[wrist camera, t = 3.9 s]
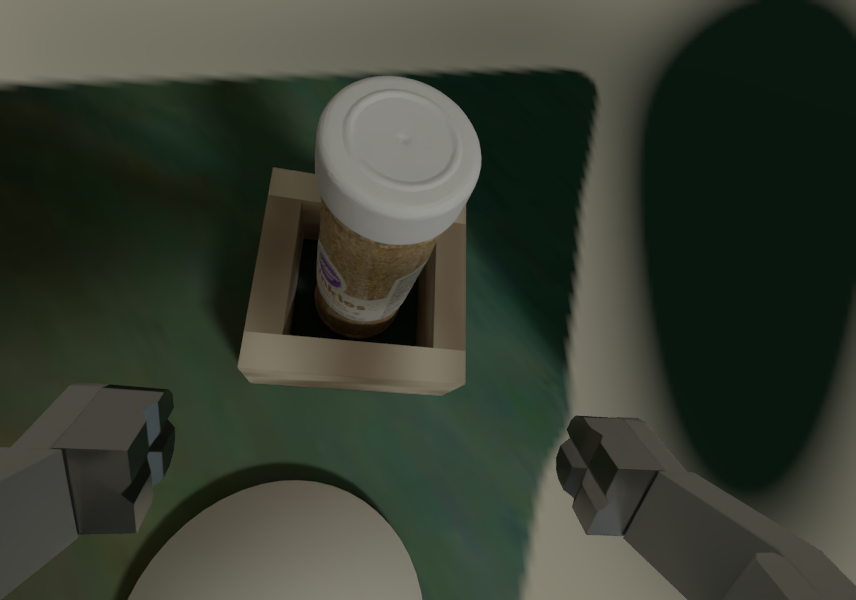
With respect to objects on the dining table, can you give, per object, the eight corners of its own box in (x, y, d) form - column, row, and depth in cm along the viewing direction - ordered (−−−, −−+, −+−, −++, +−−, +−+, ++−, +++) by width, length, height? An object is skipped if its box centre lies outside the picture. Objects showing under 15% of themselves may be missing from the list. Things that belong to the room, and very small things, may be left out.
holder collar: (250, 383, 22) (237, 367, 18) (279, 210, 25) (272, 167, 21) (441, 395, 24) (465, 384, 20) (445, 234, 27) (465, 198, 23)
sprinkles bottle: (296, 300, 23) (275, 123, 11) (356, 246, 25) (398, 42, 13) (360, 359, 23) (412, 248, 11) (417, 301, 25) (517, 147, 13)
